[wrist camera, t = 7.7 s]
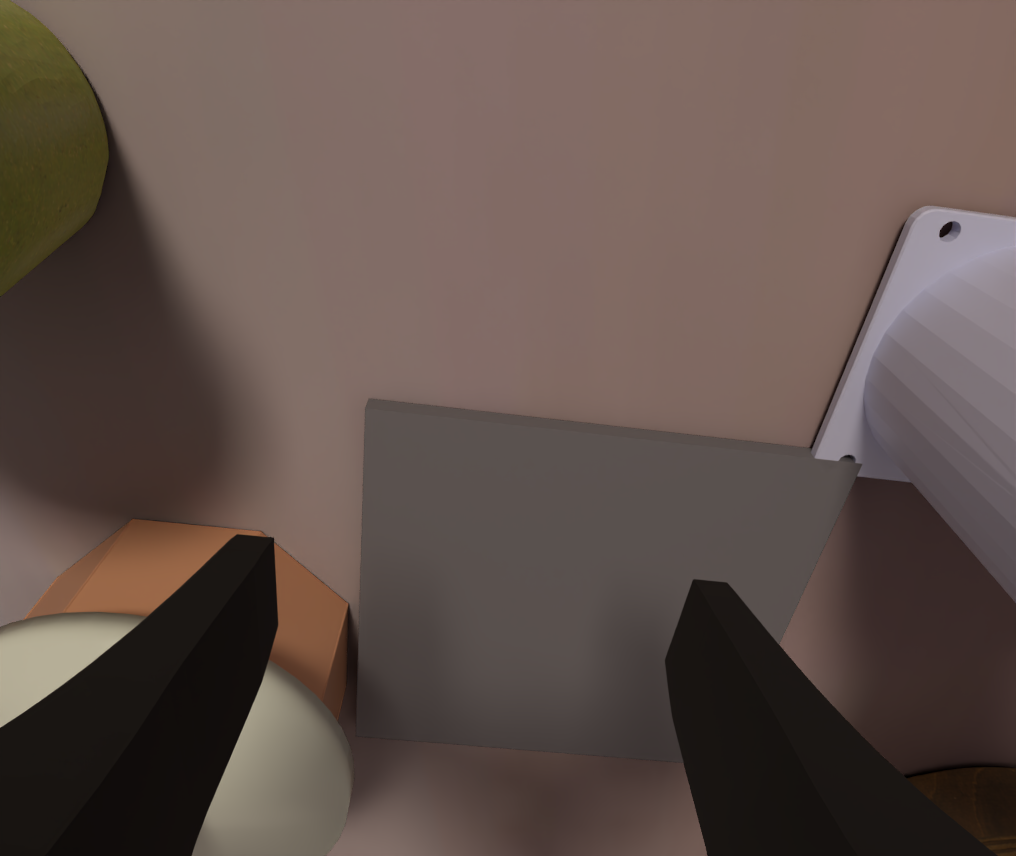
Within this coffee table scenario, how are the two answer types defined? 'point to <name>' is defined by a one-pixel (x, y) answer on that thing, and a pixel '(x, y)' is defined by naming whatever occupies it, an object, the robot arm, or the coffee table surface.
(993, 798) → the wooden container
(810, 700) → the robot arm
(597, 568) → the mat
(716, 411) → the coffee table surface
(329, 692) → the bowl
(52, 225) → the plant pot
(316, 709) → the lid
